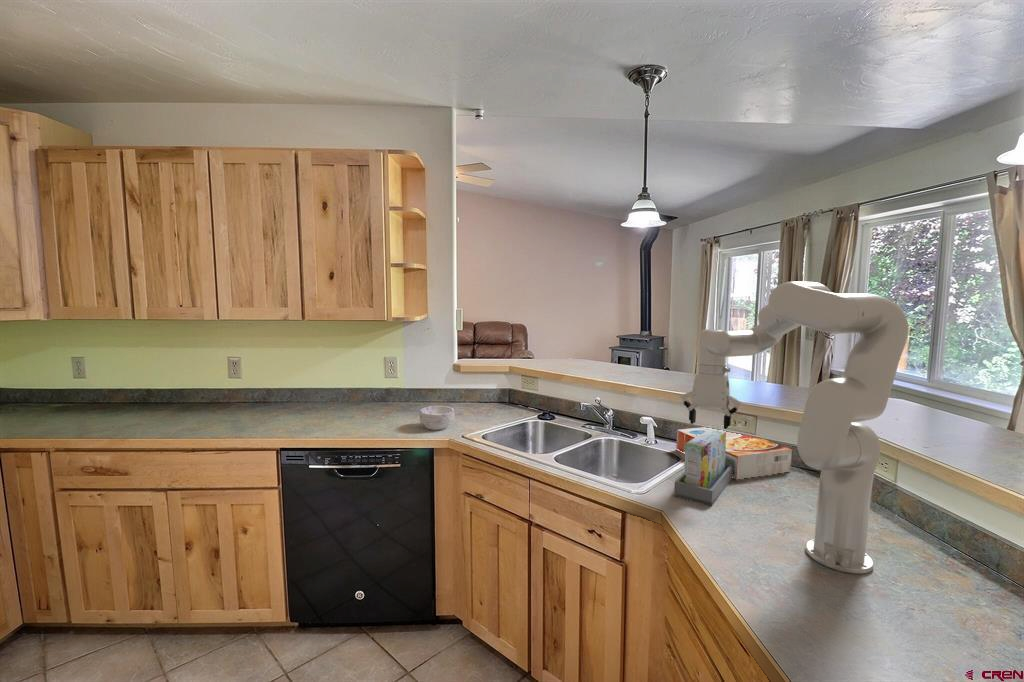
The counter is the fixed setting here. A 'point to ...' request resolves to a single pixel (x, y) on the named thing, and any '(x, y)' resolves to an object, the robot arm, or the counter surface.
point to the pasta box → (746, 453)
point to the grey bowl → (436, 417)
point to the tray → (702, 493)
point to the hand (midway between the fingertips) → (709, 425)
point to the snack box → (705, 458)
